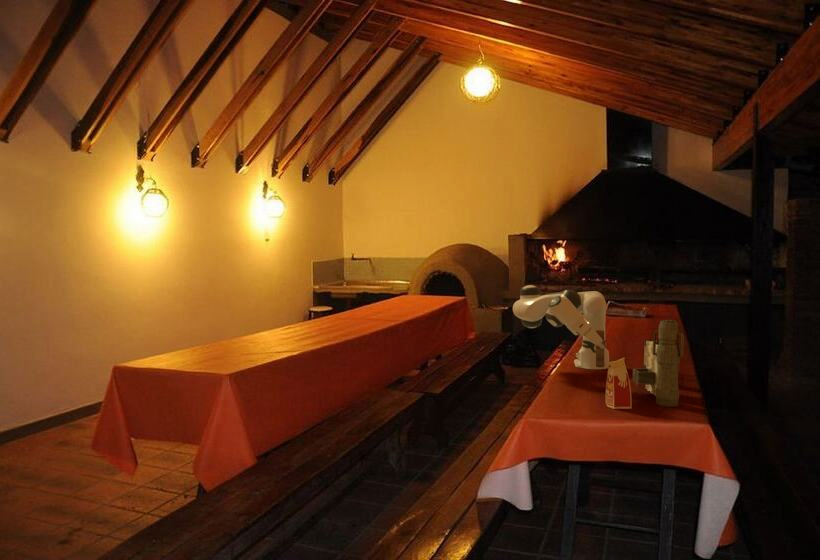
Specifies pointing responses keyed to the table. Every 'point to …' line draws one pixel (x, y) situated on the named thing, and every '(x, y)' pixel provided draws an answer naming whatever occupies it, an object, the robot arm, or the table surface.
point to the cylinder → (600, 351)
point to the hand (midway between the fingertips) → (601, 346)
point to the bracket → (648, 370)
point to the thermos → (668, 362)
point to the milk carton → (618, 386)
